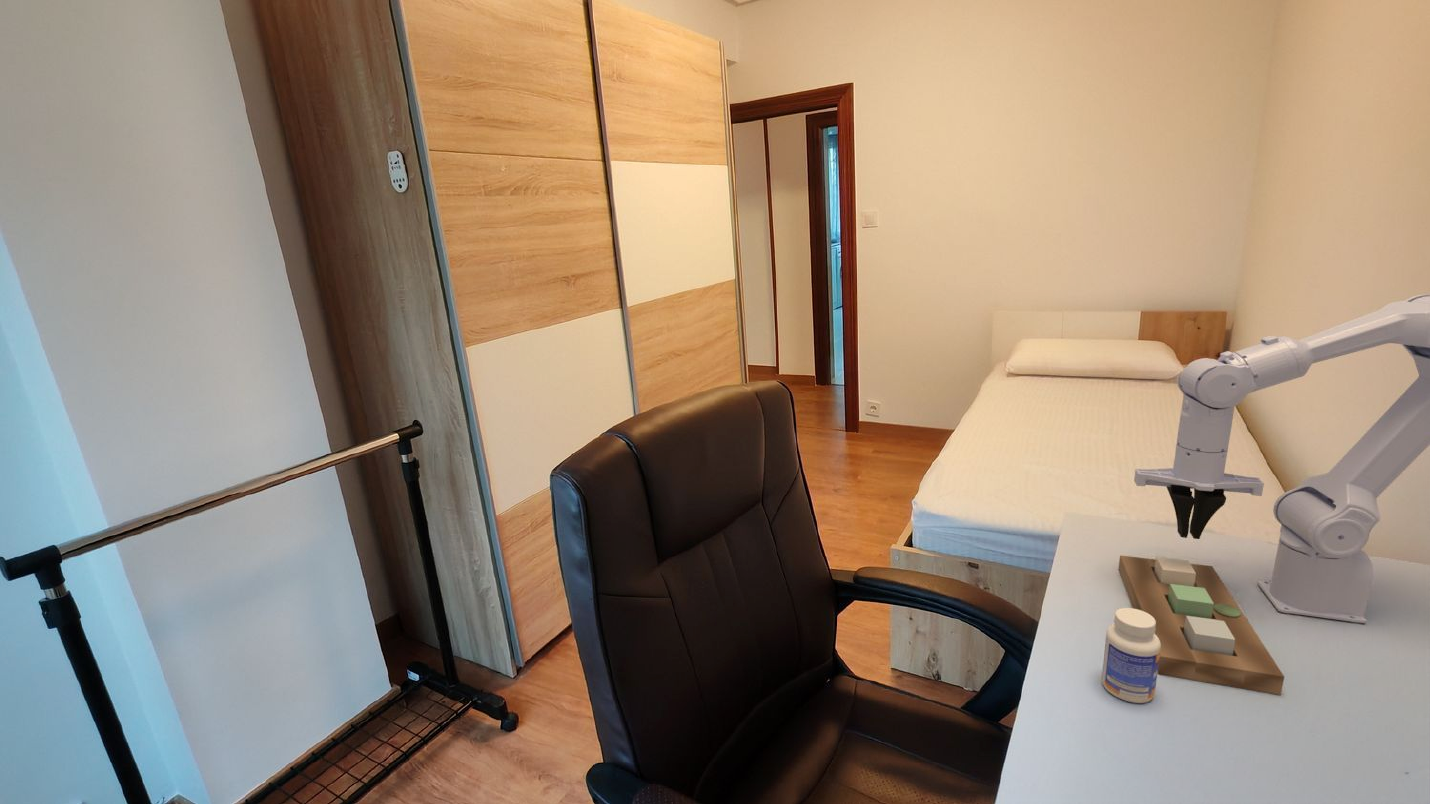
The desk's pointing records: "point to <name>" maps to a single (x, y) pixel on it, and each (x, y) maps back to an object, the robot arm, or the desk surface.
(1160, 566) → the cream button
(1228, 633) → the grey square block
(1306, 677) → the desk surface
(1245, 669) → the brown wooden slotted board
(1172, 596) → the sage button
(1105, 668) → the pill bottle
